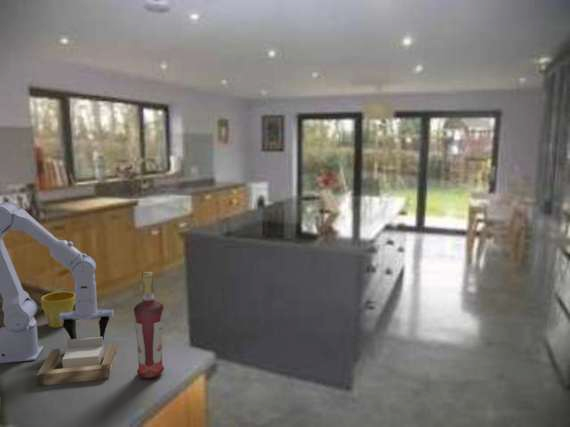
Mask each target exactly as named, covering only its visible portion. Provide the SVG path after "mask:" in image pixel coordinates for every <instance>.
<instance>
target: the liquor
mask: <svg viewBox="0 0 570 427" xmlns="http://www.w3.org/2000/svg"><path fill="white" fill-rule="evenodd" d="M141 278H142V279H141V280H142V283H143V290H142V301H141V302H139V303H137V304H136V305H135V306H134V307H133V312H134V314H133V315H134V328H135V336H136V346H137V357H138V358H137V360H138V368H137V371H136V372H137V375H139V376H140V377H142V378H143V379H146V380H147V379H155V378H157V377H158V376H159V375H161V374H162V373H163V371H164V370H165V366H164V365H163V335H164V332H163V331H164V328H163V327H164V304H163V303H161V302H159V300H158V301H157V300H155V294H154V287H153V282H154V272H153V271H144V272H142V273H141Z"/></svg>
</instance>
